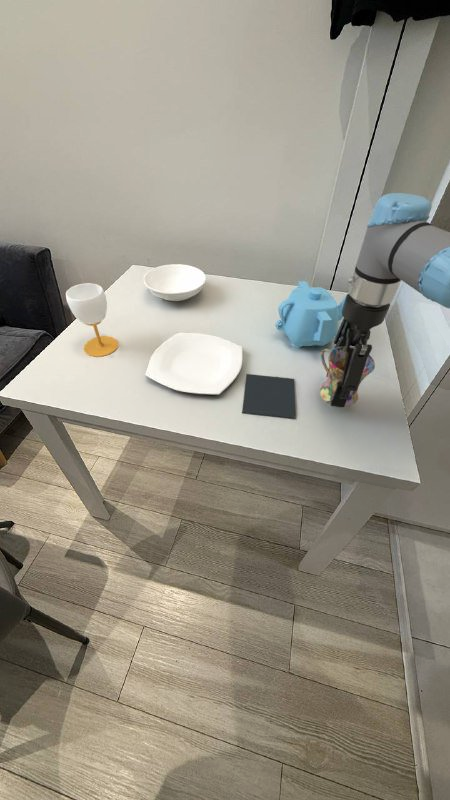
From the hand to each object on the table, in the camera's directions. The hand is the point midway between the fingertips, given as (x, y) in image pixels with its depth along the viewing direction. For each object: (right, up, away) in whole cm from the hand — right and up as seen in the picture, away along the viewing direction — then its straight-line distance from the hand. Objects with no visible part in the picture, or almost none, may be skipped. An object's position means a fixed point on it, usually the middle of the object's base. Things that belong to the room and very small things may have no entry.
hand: (334, 390), depth 73 cm
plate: (-32, +7, +11) cm, 34 cm away
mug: (0, -1, +2) cm, 2 cm away
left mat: (-14, -1, +4) cm, 15 cm away
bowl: (-41, +32, +35) cm, 63 cm away
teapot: (0, +16, +21) cm, 27 cm away
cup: (-58, +12, +15) cm, 62 cm away
